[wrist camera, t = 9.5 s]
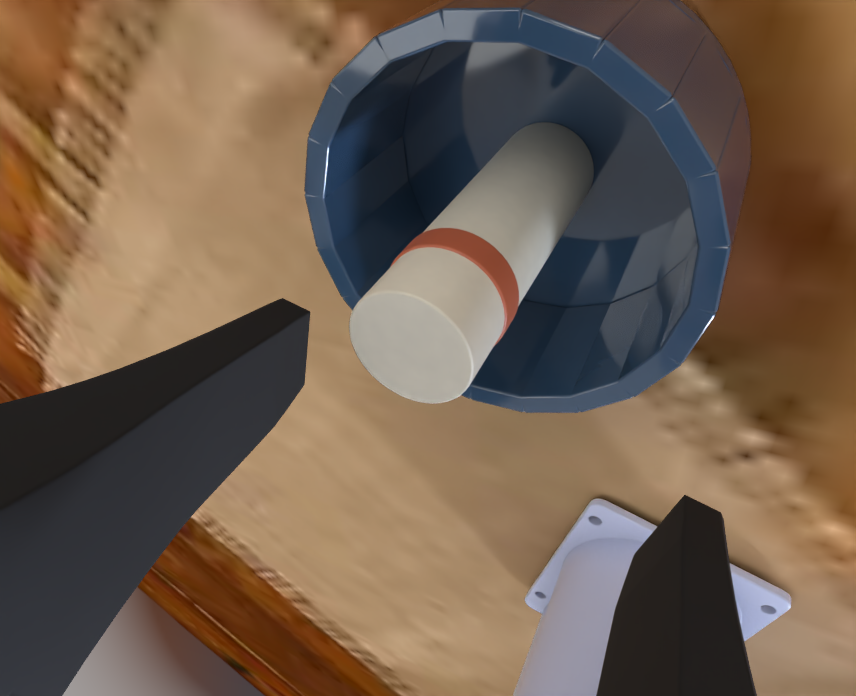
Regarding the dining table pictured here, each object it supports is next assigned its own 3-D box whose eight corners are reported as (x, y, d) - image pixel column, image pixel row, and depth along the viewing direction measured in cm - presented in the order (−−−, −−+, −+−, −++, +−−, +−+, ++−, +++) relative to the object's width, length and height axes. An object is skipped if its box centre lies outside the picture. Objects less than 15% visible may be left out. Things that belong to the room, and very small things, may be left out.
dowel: (575, 228, 19) (457, 427, 13) (490, 191, 19) (339, 367, 13) (612, 142, 17) (492, 330, 11) (516, 104, 17) (354, 265, 12)
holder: (647, 359, 21) (610, 469, 18) (376, 234, 23) (295, 313, 20) (844, 44, 14) (845, 127, 11) (431, -99, 16) (319, -66, 13)
